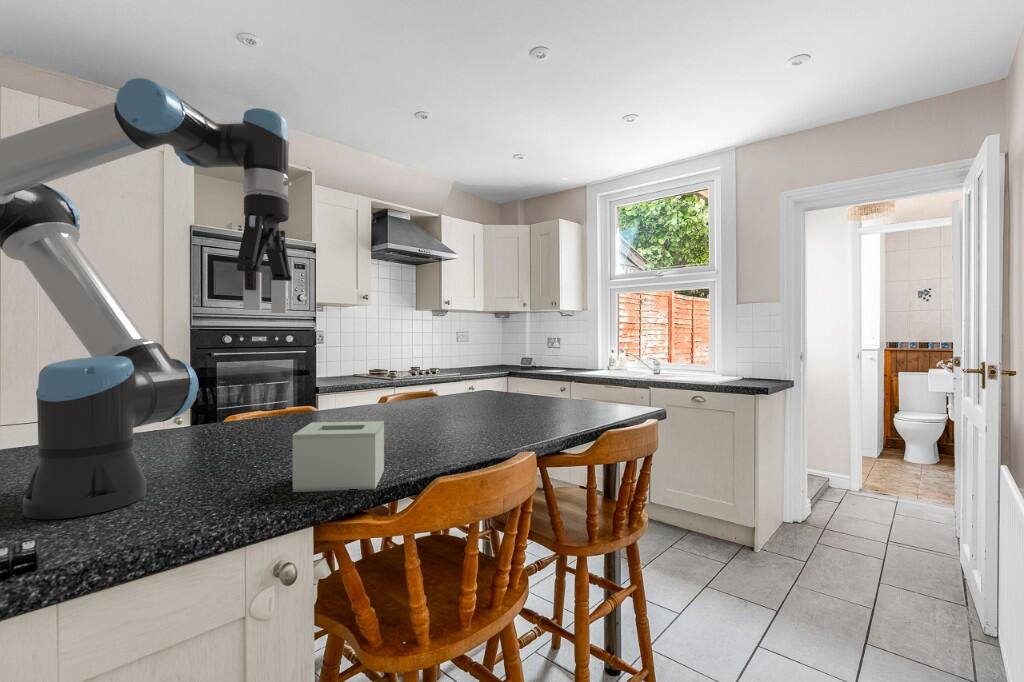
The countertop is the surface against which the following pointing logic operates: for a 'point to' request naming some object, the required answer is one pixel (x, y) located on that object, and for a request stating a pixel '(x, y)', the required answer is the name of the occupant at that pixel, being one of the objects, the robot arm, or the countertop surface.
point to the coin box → (338, 456)
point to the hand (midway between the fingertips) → (266, 311)
